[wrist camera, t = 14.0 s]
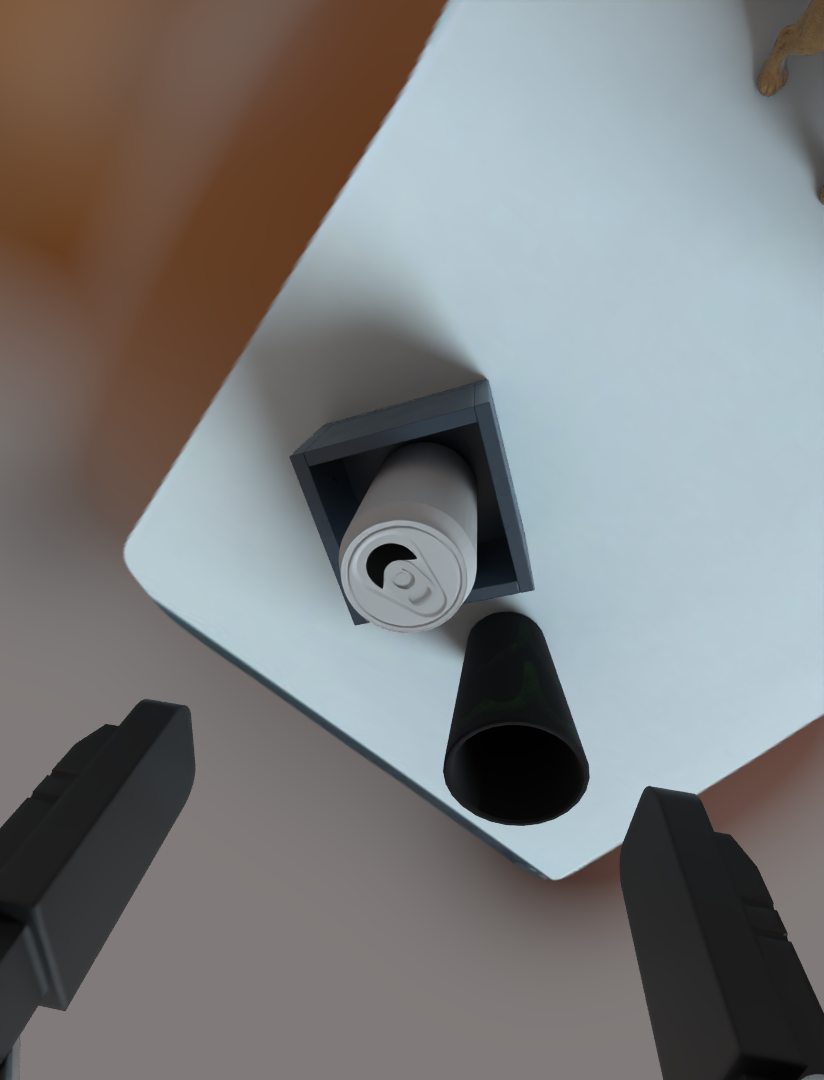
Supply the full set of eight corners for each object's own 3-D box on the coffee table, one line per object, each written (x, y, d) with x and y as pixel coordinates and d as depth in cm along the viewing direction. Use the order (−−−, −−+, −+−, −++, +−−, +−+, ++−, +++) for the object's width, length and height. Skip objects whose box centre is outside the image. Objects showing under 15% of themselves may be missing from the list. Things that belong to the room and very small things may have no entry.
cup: (483, 701, 43) (485, 841, 32) (433, 625, 41) (416, 749, 30) (578, 664, 41) (613, 802, 30) (531, 582, 39) (550, 700, 28)
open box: (488, 378, 33) (489, 401, 27) (525, 538, 37) (534, 590, 31) (323, 425, 36) (288, 456, 29) (374, 570, 40) (354, 625, 33)
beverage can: (426, 416, 34) (400, 481, 23) (499, 490, 35) (507, 585, 24) (355, 486, 36) (302, 575, 25) (426, 553, 37) (404, 664, 27)
